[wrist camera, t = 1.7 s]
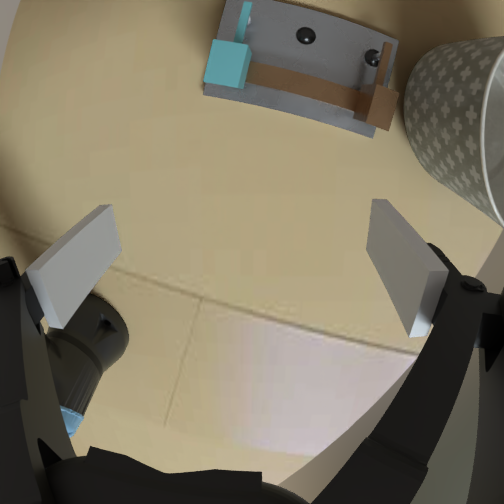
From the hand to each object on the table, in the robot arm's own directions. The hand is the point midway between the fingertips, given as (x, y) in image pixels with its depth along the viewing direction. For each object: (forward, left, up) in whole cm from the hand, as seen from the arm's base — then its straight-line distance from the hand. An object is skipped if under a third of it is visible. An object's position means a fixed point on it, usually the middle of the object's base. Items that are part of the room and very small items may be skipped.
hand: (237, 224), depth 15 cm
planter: (+24, +12, -24) cm, 36 cm away
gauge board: (+3, +11, -23) cm, 26 cm away
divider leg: (-4, +11, -22) cm, 25 cm away
